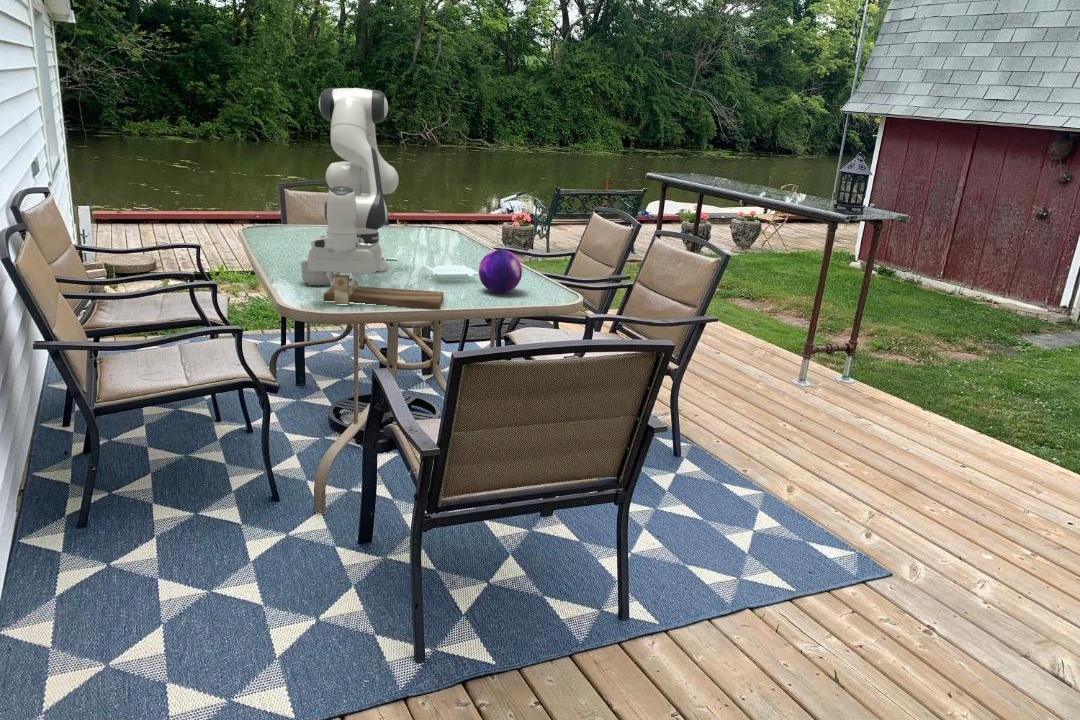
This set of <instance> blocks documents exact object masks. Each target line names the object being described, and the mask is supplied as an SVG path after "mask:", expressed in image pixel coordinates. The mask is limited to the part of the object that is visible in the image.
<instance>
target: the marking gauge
mask: <svg viewBox="0 0 1080 720" xmlns="http://www.w3.org/2000/svg"><path fill="white" fill-rule="evenodd" d="M352 279H353V278H351V277H350V275H348V274H339V275H336V276H335V277H334V293H335V303H334V305H335V304H349V302H350V295H351V294H352V293H353V292H354V291H355V290H356V289H357V287H358V286H359V281H358V280H355V281H354V287H348V281H351V280H352ZM349 305H350V304H349Z"/></svg>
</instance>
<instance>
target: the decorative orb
mask: <svg viewBox="0 0 1080 720" xmlns="http://www.w3.org/2000/svg"><path fill="white" fill-rule="evenodd" d="M522 268H523V267H522V264H521V262H520V259H519V258H518V256H516V255H515V254H514V253H513V252H511V251H509V250H506V249H495V250H492V251H489V252H488V253H487V254H486V255H484V257H483V258H482V259H481V261H480V262H479V266H478V277H479V280H480V282H481V284H482V285H483V287H484V288H486V290H488V291H490V292H493V293H496V294H505V293H509V292H510V291H512V290H514V289H515V288H516V287H517V286H518V285H519V284H520V281H521V280H522V276H523V275H522V274H523V269H522Z"/></svg>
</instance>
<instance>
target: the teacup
mask: <svg viewBox="0 0 1080 720" xmlns="http://www.w3.org/2000/svg"><path fill="white" fill-rule="evenodd" d="M300 264H301V277H302V280H303V281H304V282H305V283H306V284H307V285H308V284H310V285H309V286H311V285H318V286H317V287H321V286H320V285H325V286H328V285H329V284H330V280H329V278H328V277H327V275H326V271H311V270H310V269H309V268H308V259H307V260H303V261H301V262H300ZM336 275H341V272H333V274H331V276H332V277H333V279H334V277H335V276H336ZM327 284H328V285H327Z"/></svg>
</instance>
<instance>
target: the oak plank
mask: <svg viewBox="0 0 1080 720" xmlns="http://www.w3.org/2000/svg"><path fill="white" fill-rule="evenodd" d="M444 295H445V293H444V291H433V290H421V289H420V290H419V289H405V288H404V289H403V288H389V287H373V286H359V285H358V287H357V289H356V290H355V291H354V292H353V293H352V294H351V295H350V302H354V303H365V304H376V305H387V306H397V307H396V308H403V307H405V308H406V307H407V308H406V309H418V308H419V309H420V308H421V309H422V308H423V310H434V309H437V310H438V309H439V310H440V308H441V306H442V304H443V302H444V299H445V298H444V297H445V296H444ZM324 301H335V293H334V286H330V288H329V289H328V290H327V291H325V293H324V294H323V302H324ZM387 306H386V307H387ZM421 309H420V310H421ZM439 310H438V311H439Z"/></svg>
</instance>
